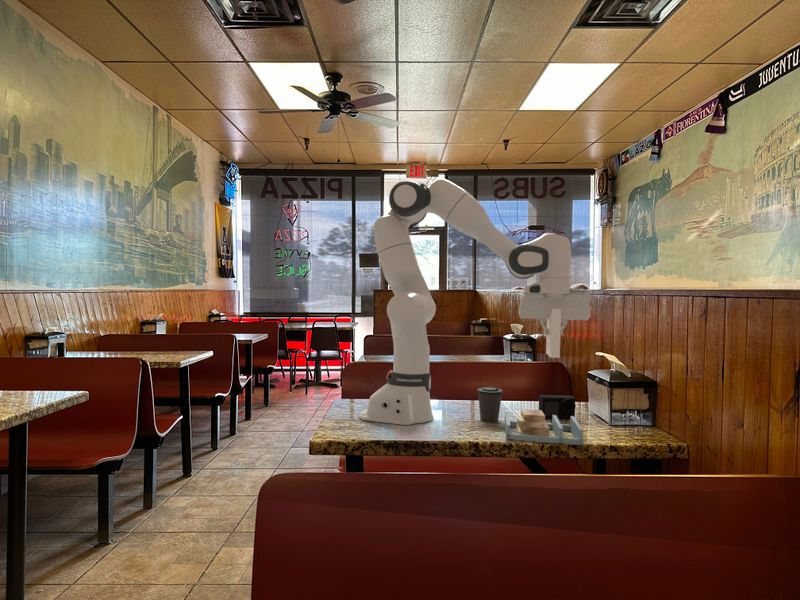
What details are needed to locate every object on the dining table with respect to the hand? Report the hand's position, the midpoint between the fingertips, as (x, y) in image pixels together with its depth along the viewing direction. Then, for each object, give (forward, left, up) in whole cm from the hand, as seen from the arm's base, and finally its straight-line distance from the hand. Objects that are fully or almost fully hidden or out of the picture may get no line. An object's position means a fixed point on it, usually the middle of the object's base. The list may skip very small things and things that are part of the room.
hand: (553, 334), depth 151 cm
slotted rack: (-4, -11, -27) cm, 29 cm away
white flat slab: (0, 0, -6) cm, 6 cm away
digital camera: (+3, +10, -27) cm, 29 cm away
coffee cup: (-18, +2, -27) cm, 33 cm away
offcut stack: (-6, -11, -27) cm, 30 cm away
